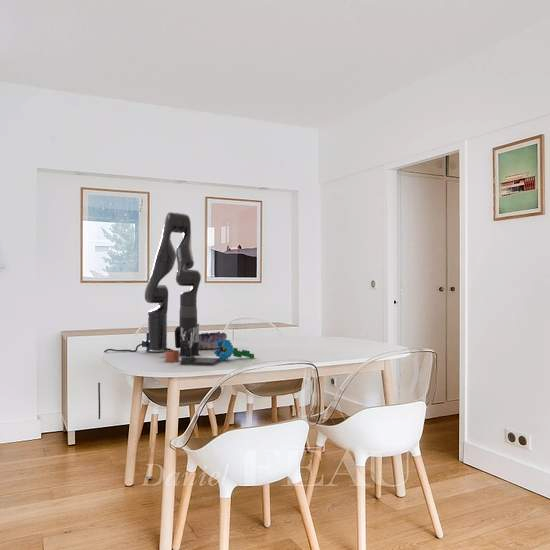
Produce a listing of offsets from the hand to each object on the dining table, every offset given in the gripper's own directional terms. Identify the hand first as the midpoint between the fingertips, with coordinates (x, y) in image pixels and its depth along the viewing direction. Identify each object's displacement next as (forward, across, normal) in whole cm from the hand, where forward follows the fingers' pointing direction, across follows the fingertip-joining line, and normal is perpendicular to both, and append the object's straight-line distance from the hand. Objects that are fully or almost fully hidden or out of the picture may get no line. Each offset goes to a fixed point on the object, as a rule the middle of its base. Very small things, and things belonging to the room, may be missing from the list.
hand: (188, 356), depth 229 cm
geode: (+3, -49, -8) cm, 49 cm away
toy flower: (+3, -16, +16) cm, 24 cm away
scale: (+3, -4, +4) cm, 6 cm away
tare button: (+2, 0, 0) cm, 2 cm away
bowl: (+3, -6, -10) cm, 12 cm away
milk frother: (+3, -23, -12) cm, 26 cm away
